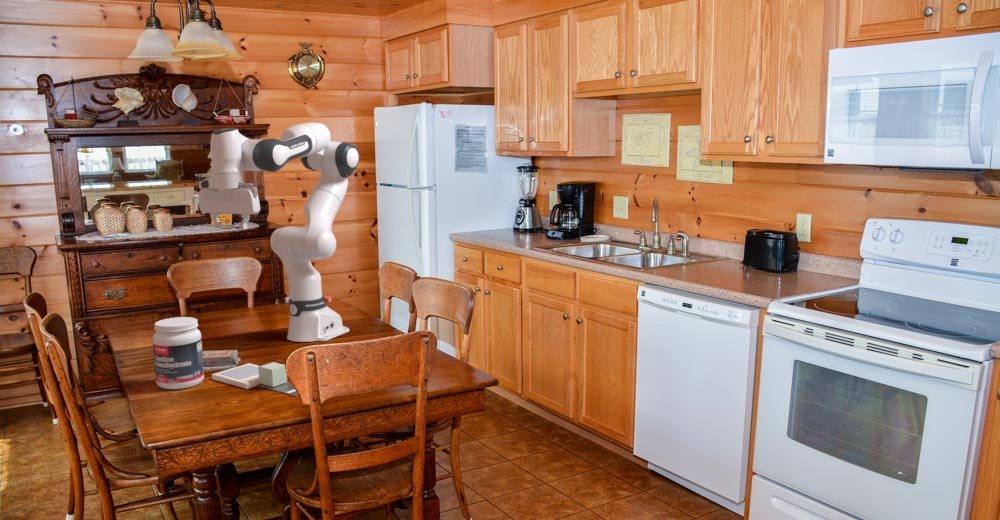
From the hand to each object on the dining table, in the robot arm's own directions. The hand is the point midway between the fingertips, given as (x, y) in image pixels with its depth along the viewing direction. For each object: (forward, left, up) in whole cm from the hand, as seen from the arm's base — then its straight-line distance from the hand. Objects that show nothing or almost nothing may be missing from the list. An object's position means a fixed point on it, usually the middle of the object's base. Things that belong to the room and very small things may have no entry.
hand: (230, 228), depth 231 cm
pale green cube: (+8, +26, -42) cm, 50 cm away
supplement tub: (+22, +3, -43) cm, 48 cm away
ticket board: (+8, +23, -42) cm, 49 cm away
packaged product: (+7, -6, -43) cm, 44 cm away
